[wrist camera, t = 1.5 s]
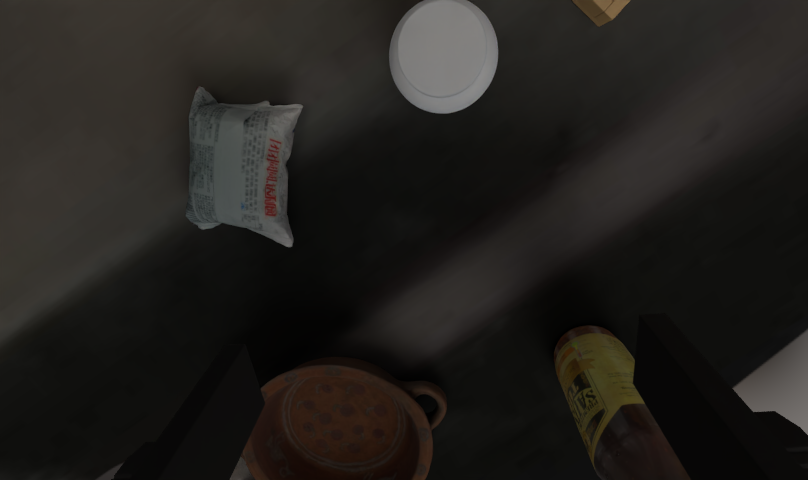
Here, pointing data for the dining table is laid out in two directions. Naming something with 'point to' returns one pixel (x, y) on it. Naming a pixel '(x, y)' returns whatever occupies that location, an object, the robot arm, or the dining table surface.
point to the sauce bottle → (612, 408)
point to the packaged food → (240, 165)
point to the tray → (601, 9)
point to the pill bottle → (443, 55)
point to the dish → (343, 424)
